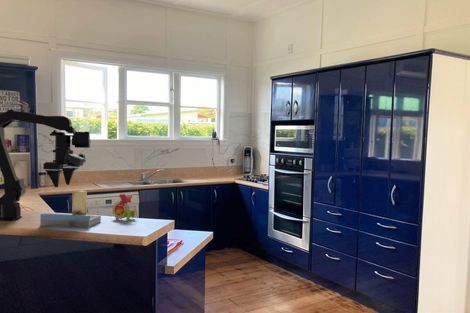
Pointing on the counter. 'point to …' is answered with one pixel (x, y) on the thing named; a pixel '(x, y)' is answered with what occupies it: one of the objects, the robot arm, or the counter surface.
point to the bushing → (79, 202)
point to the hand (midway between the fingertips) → (62, 185)
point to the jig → (69, 220)
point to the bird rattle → (120, 209)
